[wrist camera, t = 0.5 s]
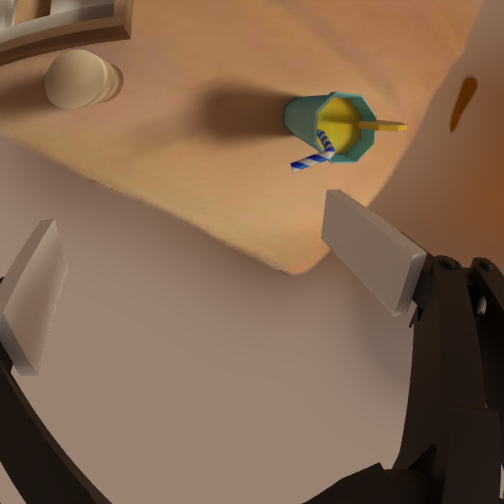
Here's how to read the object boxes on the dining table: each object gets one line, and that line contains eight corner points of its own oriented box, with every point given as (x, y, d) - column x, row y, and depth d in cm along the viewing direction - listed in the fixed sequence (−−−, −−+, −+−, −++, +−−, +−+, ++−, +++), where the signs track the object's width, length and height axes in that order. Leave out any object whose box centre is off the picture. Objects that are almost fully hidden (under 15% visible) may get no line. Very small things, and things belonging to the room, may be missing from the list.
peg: (85, 67, 27) (44, 56, 16) (123, 61, 28) (102, 45, 17) (85, 104, 29) (45, 114, 18) (123, 99, 31) (102, 104, 19)
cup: (257, 168, 39) (309, 212, 27) (233, 112, 35) (279, 126, 22) (349, 127, 40) (426, 153, 27) (332, 74, 35) (412, 79, 23)
